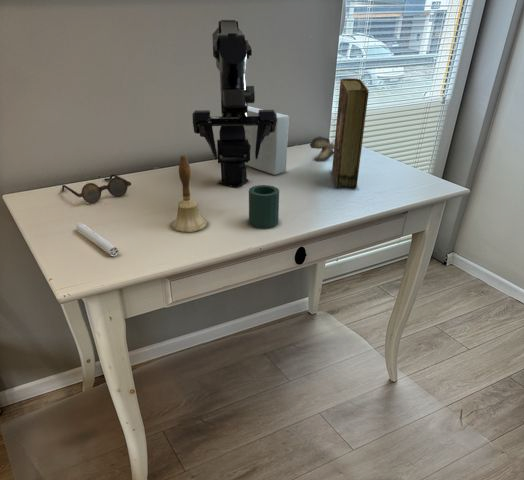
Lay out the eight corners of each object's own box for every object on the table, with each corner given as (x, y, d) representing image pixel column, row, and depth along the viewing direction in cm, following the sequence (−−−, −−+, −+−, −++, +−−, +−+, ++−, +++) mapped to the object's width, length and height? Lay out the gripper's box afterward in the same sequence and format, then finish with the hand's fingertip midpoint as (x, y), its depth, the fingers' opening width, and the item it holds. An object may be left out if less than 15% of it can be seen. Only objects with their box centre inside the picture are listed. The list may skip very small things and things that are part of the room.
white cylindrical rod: (73, 230, 115) (71, 220, 114) (82, 228, 116) (80, 218, 115) (110, 257, 105) (108, 247, 103) (119, 254, 106) (117, 244, 104)
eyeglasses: (81, 206, 127) (76, 187, 124) (58, 190, 136) (54, 172, 133) (132, 193, 134) (129, 175, 131) (108, 179, 143) (105, 161, 140)
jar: (243, 224, 119) (243, 192, 114) (258, 215, 123) (258, 183, 118) (269, 231, 116) (269, 197, 111) (283, 220, 121) (284, 188, 116)
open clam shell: (316, 147, 166) (304, 149, 159) (330, 130, 162) (317, 130, 155) (331, 164, 165) (319, 166, 158) (345, 147, 161) (334, 148, 154)
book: (331, 170, 151) (340, 78, 136) (349, 170, 151) (360, 78, 136) (336, 189, 138) (346, 89, 123) (356, 189, 138) (369, 90, 123)
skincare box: (287, 172, 150) (290, 115, 140) (274, 175, 147) (276, 118, 137) (241, 156, 162) (240, 103, 152) (228, 159, 159) (227, 105, 149)
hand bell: (168, 221, 120) (160, 153, 110) (201, 216, 122) (196, 149, 113) (176, 234, 114) (168, 164, 104) (210, 229, 116) (206, 160, 106)
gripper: (189, 70, 104) (192, 143, 103) (277, 69, 105) (281, 142, 105) (192, 98, 115) (195, 165, 114) (272, 97, 116) (275, 163, 116)
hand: (236, 158), depth 112 cm, fingers open, 9 cm apart
